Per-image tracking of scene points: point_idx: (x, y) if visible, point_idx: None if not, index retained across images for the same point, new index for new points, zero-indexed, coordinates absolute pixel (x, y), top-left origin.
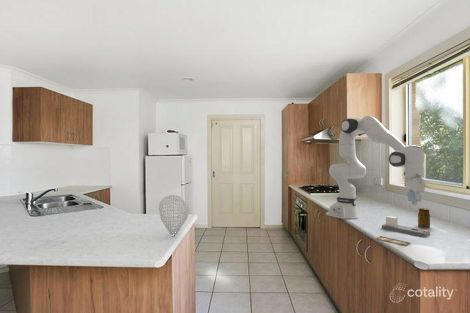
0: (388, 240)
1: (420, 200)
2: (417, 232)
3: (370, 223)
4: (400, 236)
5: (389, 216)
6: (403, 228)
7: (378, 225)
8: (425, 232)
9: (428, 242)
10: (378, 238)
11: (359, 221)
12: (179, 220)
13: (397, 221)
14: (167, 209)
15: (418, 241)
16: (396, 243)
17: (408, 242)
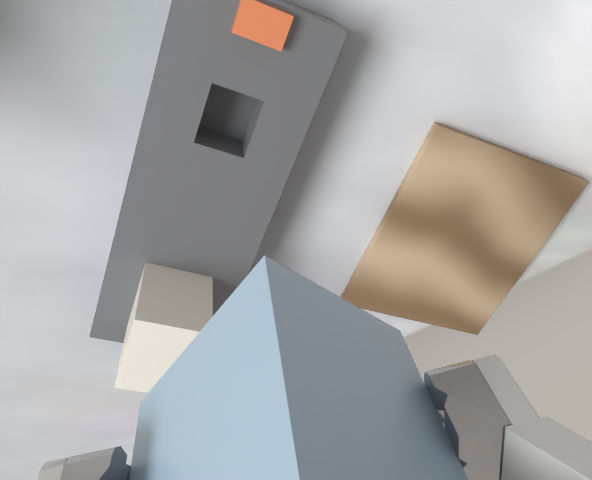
0: (511, 277)
1: (295, 288)
2: (317, 103)
3: (37, 407)
4: (339, 211)
5: (144, 377)
6: (237, 216)
7: (64, 360)
8: (299, 26)
9: (439, 8)
10: (482, 326)
11: (31, 464)
12: None
13: (140, 288)
14: None
15: (436, 90)
16: (545, 232)
17: (525, 167)
